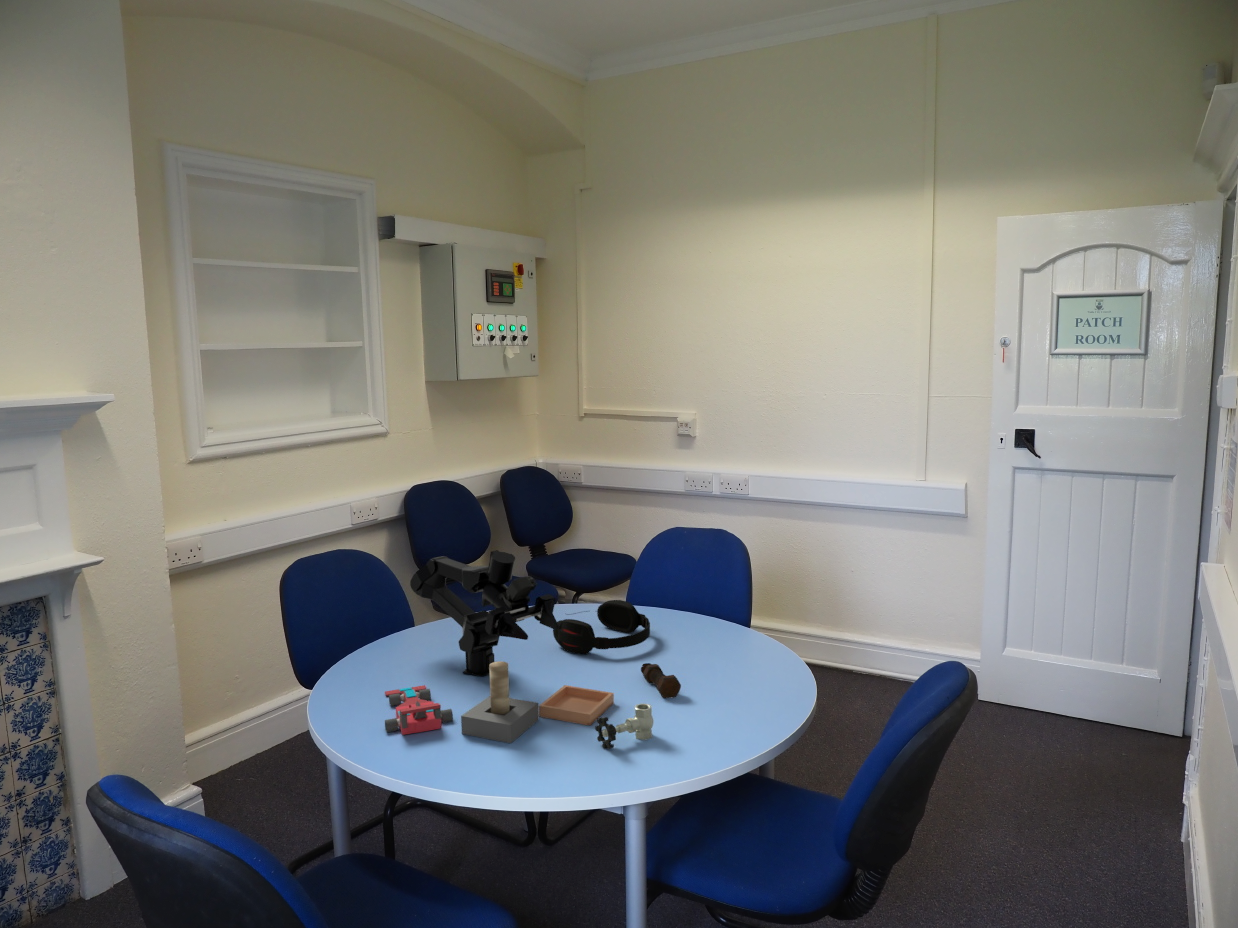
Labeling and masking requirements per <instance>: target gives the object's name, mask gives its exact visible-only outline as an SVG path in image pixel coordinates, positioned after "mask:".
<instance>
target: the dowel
mask: <svg viewBox="0 0 1238 928" xmlns="http://www.w3.org/2000/svg"><path fill="white" fill-rule="evenodd" d="M489 670H490V673H489V691H490V692H489V693H490V695H489V696H490V698H491V713H493V714H498V715H506V714H507V713H508V712H510V706H509V698H510V685H509V684H510V683H509V682H510V681H509V679H510V678H509V676H510V675H509V663H508V662H506V661H495V662H493V663H491V664H490V665H489Z"/></svg>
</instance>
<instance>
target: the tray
mask: <svg viewBox="0 0 1238 928" xmlns="http://www.w3.org/2000/svg"><path fill="white" fill-rule="evenodd" d="M614 695H615V694H614V692H609V691H605V690H597V689H590V688H585V687H580V686H571V685H567V684H564V685H563V686H562V687H560V688H559V689H558V690H557V691H555V692H554V693H553V694H552V695H550V696H549V697H547V698H546V699H545V700H544V701H543V702H542V703H540V704H538V716H539V717H541V718H546V719H552V720H558V721H563V722H568V723H574V724H580V725H584V726H585V725H586V726H591V725H592V724H594V723H595V722H597V718H601V716H602V715H603V714H605V712H607V710H608V709H610V708H611V706H613V705H614V703H615V702H614V701H615V700H614V697H615V696H614Z"/></svg>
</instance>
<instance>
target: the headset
mask: <svg viewBox="0 0 1238 928" xmlns="http://www.w3.org/2000/svg"><path fill="white" fill-rule="evenodd" d="M585 612H587V613H588V612H589V610H586V611H583V613H585ZM596 612H597V613H596V615H597V619H598V620H599V622H600V623H601V624H602V625H603V627H606V628H607V629H610V630H612V631H614V632H619V633H623V634H629V635H625V636H619V637H610V638H609V637H605V636H603V637H602V636H596V634H595V632H594V629H593V626H592V625H591V624H590V623H587V622H585V621H581V620H578V619H572V618H571V619H570V618H565V619H562V620H561V619H560V620H558V621H557V623H558V625H559V628H558V630H555V629H552V633H553V638H554V640H555V642H556V643H557V644H558V645H559V646H560V647H561V649H563V650H564V651H565V652H567V653H571V654H574V655H583V656H584V655H588V654H589V653H590V652H592V651H593V649H596V650H609V649H621V648H622V649H623V648H629V647H632V646H633V647H635V646H637V645H640V644H641V643H644V642H645V641H647V640H648V639H649V637H650V634H651V622H650V620H649V618H648V617H647V616H646V615H645V614H644V613H639V611H638V610H637V608H636V607H635V606H634V605H633V604H632V603H630V602H628V601H625V600H621V599H611V600H607V601H605V602H603V603H602V604H600V605H599V606H598V607H597V610H596ZM580 613H581V614H582V611H579V612H578V614H580ZM576 614H577V612H574V613H573V615H576ZM566 615H567V616H568V615H572V613H571V614H570V613H569V614H568V613H566ZM640 626H641V627H642V628H643V629H642V630H640V631H638V632H636V633H634V632H635V631H636V630H637V628H639V627H640ZM630 633H632V634H630Z"/></svg>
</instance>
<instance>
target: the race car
mask: <svg viewBox="0 0 1238 928" xmlns="http://www.w3.org/2000/svg"><path fill="white" fill-rule="evenodd" d="M384 694H385V697H388V700H389V701H388V703H389V705H390V707H395V717H394V718H388V719H385V720H384V728H385V732H387V733H392V731H393V732H397V731H396V730H399V729H400V732H401V735H402V736H404V735H410V734H417V733H423V732H428V731H432V730H433V731H434V730H440V729H442V723H443V722H444V723H449V721H450V722H453V720H454V716H453V715H454V714H453V710H452V708H449V709H448V708H447V709H441V704H440V703H439V702H436V703H434V701H432V693H431V689H430V688H427V686H426V685H425V684H424V685H423V684H422V685H417V686H411V687H410V686H409V687H404V688H398V689H392V690H386V691H384ZM419 698H420V699H419ZM427 700H428V701H427ZM402 702H403V703H402ZM394 705H397V706H394ZM444 723H443V724H444Z"/></svg>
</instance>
